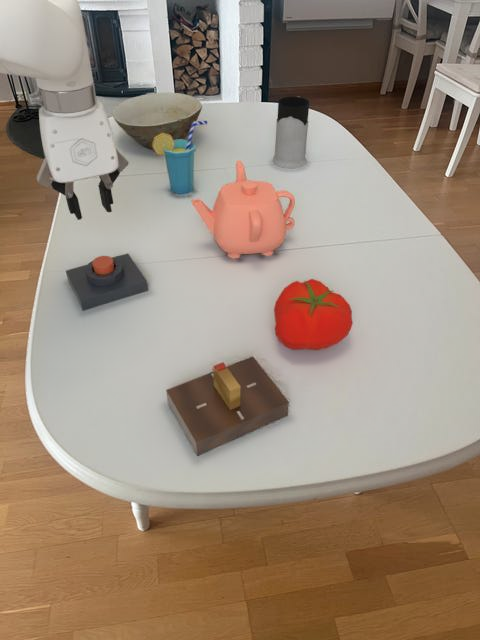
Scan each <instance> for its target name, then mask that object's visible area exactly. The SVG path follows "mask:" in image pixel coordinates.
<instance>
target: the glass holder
mask: <svg viewBox="0 0 480 640" xmlns="http://www.w3.org/2000/svg"><path fill="white" fill-rule="evenodd" d="M277 102H278V103H277V118H276V125H275V126H276V127H275V142H274V143H275V144H274V156H273V159H272V163H273V164H274V165H276V166H277V167H280V168H283V169H284V168H285V169H298V168H302V167H304V166H305V165H306V164H307V157H306V152H307V142H308V141H307V139H308V130H309V113H310V112H309V110H310V101H309V99H307V98H304V97H301V96H299V95H298V96H284V97H281V98H280V99H278V101H277Z"/></svg>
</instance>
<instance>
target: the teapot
mask: <svg viewBox="0 0 480 640" xmlns="http://www.w3.org/2000/svg"><path fill="white" fill-rule="evenodd" d="M235 169H236V177H235V182H228V183H226V184H223V185H222V186H220V187H221V188H220V189H219V191H218V194H217V196H216V199H215V201H214V204H213V209H212V210H211V209H210V208H209V206H208V205H207V204H206V203H205V202H203V200H202V199H201V198H194V199H191V203H192V206H193V208H194V210H196V212H197V214H198V215H199V217H200V218H201V220H202V221H203V223H204V224H205V226H206V227H207V229H208V230H209V232H210V233H211V234H213V238H214V240H215V242H216V243H217V245H218V246H219V248H220V249H221V250H222V251H223V252H226V253H227V257H228V258H230V259H239V258H241V256H242V254H243V255H251V254H261V255H262V256H266V257H268V256H269V257H270V256H272V255H274V253H275V252H274V250H276V249H278V248H280V247H281V245H282V244H283V243H284V241H285V240H286V237H287V230H290V229H293V227H294V225H295V219H294V218H293V217H291V214H292V212H293V211H294V207H295V205H296V199H295V196H294V195H293V193H291V192H290V191H287V190H277V191H276V189H275V187H274V186H273V184H272V183H270V182H268V181H263V180H251V179H250V180H248V179H247V175H246V170H245V164H244V163H243V161H241V160H237V161H236V162H235ZM280 198H287V199H289V204H288V205H287V208H286V210H285V212H284V210H283V206H282V204H281V201H280Z"/></svg>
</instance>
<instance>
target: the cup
mask: <svg viewBox="0 0 480 640" xmlns="http://www.w3.org/2000/svg"><path fill="white" fill-rule="evenodd" d="M202 125H208V121H207V120H197V121H194V122H193V123H192V125H191V128H190V132H189V134H188V136H187V139H177V140H173V138H172V136H171V135H169V134H165V133H161V134H159V135H158V136H156V137H154V140H153V143H152V147H153V149H152V150H153V151H154V153H155V155H157V156H162V157H164V158H165V164H166V169H167V175H168V180H169V185H170V186H169V187H170V190H171V192H172V193H173V194H177V195H186V194H190V193H191V192H193V191H194V178H195V153H196V151H197V147H196V145H195V143H194V142H193V141H192V139H193V135H194V131H195V127H196V126H202Z"/></svg>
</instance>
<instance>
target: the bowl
mask: <svg viewBox="0 0 480 640" xmlns="http://www.w3.org/2000/svg"><path fill="white" fill-rule="evenodd" d="M202 108H203V105H202V103H201V101H200V100H199V99H197V98H196V97H194V96H192V95H188V94H184V93H180V92H154V93H145V94H141V95H137V96H134V97H131V98H128V99H124V100H123V101H121V102H120V103H119V104H117V105H116V106H115V108H114V109H113V111H112V118H113V119H114V121H115V122H116V124H117V125H118V126H119V128H121V129H122V130H123V131H124V133H126V134H127V135H128V136H130V137H131V138H132V140H135V141H136V142H137V143H138V144H139V145H142V146H143V147H145V148H148V149H151V150H154V149H153V147H152V143H153V140H154V137H156V136H158V135H159V134H161V133H165V134H169V135H171V136H172V138H173V140H177V139H184V140H186V138H187V137H188V136H189V132H190V128H191V125H192V123H193V122H194V121H198V118H199V116H200V114H201V112H202V110H203V109H202Z"/></svg>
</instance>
